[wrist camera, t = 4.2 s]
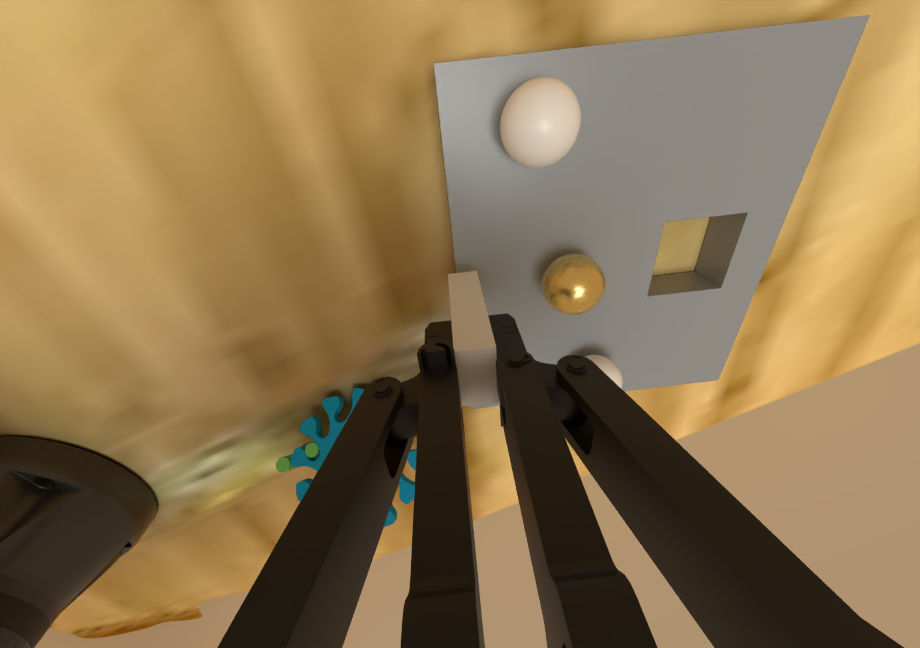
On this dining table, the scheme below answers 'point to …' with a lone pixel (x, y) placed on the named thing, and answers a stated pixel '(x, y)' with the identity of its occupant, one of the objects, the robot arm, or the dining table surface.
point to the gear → (318, 450)
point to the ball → (573, 284)
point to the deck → (641, 185)
